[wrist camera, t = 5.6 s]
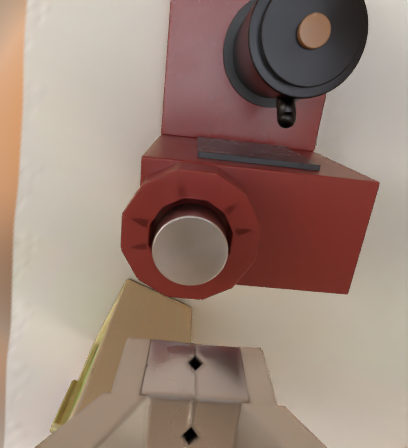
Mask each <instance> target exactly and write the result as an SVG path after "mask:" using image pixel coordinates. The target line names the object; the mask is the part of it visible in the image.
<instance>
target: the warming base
mask: <svg viewBox="0 0 408 448" xmlns="http://www.w3.org/2000/svg"><path fill="white" fill-rule="evenodd" d="M255 2H256V0H171V5H170V18H169V32H168V46H167V60H166V73H165V87H164V101H163V115H162V128H161V134H165V135H174V136H182V137H191V138H197V154H198V158H206V159H215V160H224V161H233V162H242V163H251V164H260V165H269V166H278V167H287V168H296V169H305V170H314V171H319V170H320V166H321V165H319V164H317V163H315V162H314V161H312V160H310V159H308V158H306V157H304V156H302V155H301V154H299V153H297V152H295V151H293V150H291V149H295V150H304V151H314V148H315V143H316V139H317V134H318V130H319V125H320V120H321V116H322V111H323V106H324V102H325V97H326V94H323V95H321V96H318V97H314V98H307V99H295V102H296V122H295V124H294V125H293V126H292V127H290V128H282V127H281V126H280V125H279V124H278V122H277V104H276V98H265V97H261V96H258V95H256V94H254V93H253V92H251V91H250V90H249V89H247V88H246V87H245V86H244V84H243V83H242V82H241V80H240V79H239V77H238V75H237V73H236V71H235V67H234V63H233V44H234V40H235V36H236V33H237V31H238V29H239V27H240V26H241V24H242V22H243V21H244V19H245V18H246V16H247V14H248V13H249V11H250V10H251V8H252V7H253V5H254V4H255Z"/></svg>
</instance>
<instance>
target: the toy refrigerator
mask: <svg viewBox="0 0 408 448" xmlns="http://www.w3.org/2000/svg"><path fill="white" fill-rule="evenodd" d="M191 328H192V310H191V308H190V307H189V306H187V305H185V304H183V303H181V302H178V301H176V300H174V299H172V298H169V297H167V296H164V295H163V294H161V293H158V292H156V291H154V290H152V289H149V288H147V287H145V286H142V285H140V284H138V283H136V282H133V281H131V280H126V282H125V284H124V285H123V287H122V289H121V291H120V293H119V295H118V297H117V299H116V301H115V303H114V305H113V307H112V309H111V311H110V313H109V315H108V317H107V319H106V321H105V322H104V324H103V326H102V328H101V330H100V332H99V334H98V336H97V338H96V340H95V342H94V344H93V346H92V349H91V351H90V353H89V356H88V358H87V360H86V363H85V365H84V368H83V370H82V372H81V375H80V377H79V380H78V381H76V380H73V381H72V382H71V385H70V387H69V389H68V391H67V393H66V395H65V398H64V400H63V402H62V404H61V406H60V409H59V411H58V413H57V415H56V417H55V419H54V422H53V424H52V426H51V428H50V432H51V433H53V432H55V431H56V430H57V429H58V428H60V427H61V426H62V425H63V424H65V423H66V422H67V421H68V420H70V419H71V418H72V417H73V416H75V415H76V414H77V413H78V412H80V411H81V410H82V409H83V408H85V407H86V406H87V405H88V404H90V403H91V402H92V401H93V400H95V399H96V398H97V397H98V396H100V395H101V394H102V393H111V390H112V387H113V383H114V380H115V377H116V373H117V370H118V367H119V363H120V360H121V357H122V353H123V350H124V346H125V343H126V340H127V339H128V338H129V337H134V338H145V339H150V340H152V339H156V340H166V341H175V342H184V343H191Z"/></svg>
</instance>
